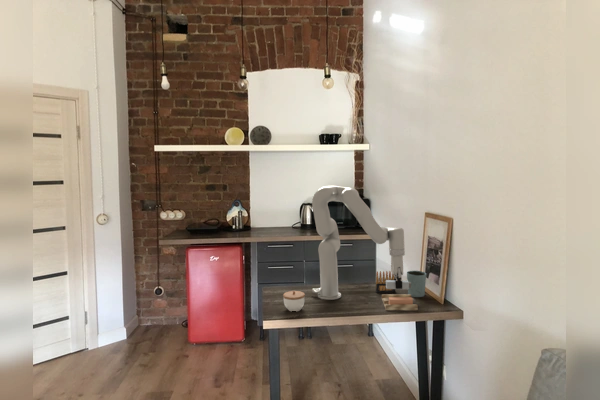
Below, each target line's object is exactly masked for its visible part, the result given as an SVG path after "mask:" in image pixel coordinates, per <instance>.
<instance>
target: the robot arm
mask: <svg viewBox="0 0 600 400" xmlns="http://www.w3.org/2000/svg"><path fill="white" fill-rule="evenodd" d="M329 202H338V203H339V202H340V203H343V204H344V205H345V206H346V208H347V209H348V210H349V212H351V214H352V215H353V216H354V217H355V219H356V220H357V222H358V223H359V225H360V226H361V227H362V229H363V230H364V232H365V233H366V234H367V235H368V237H369V238H370V239H371V240H372V241H373V242H374V243H375V244H377V245H383V244H385V243H386V242H387V241H388V246H389V247H388V251H389V256H390V272H391V275H392V274H393V275H394V280H396V281H395V283H396V289H395V290H403V289H402V280H403V279H402V278H403V275H404V259H403V256H405V255H406V253H405V252H406V250H405V230H404V229H403V228H402V227H398V226H397V227H386V226H381V225H380V224H379V223H378V222H377V221H376V219H375V218H374V216H373V213H372V211H371V208H370V207H369V206H368V205H367V204H366V203H365V202H364V200H363V199H362V198H361V196H360V194H359V191H358V190H357V189H356V188H354V187H346V186H338V185H325V186H322V187H320V188H319V189H317V190H316V191H315V192H314V195H313V196H312V200H311V206H312V211H313V219H314V223H315V227H316V232H317V234H318V235H319V236H321V237H322V240H321V242H320V243H319V245H318V249H317V250H318V251H317V252H318V259H319V276H320V277H319V278H320V279H319V280H320V282H319V283H320V287H318V288H312V289H311V290H312V293H314V294H317V298H319V299H321V300H327V301H331V300H332V301H333V300H338V299H340V298H341V297H342V293H341V292H339V279H338V278H339V273H338V272H339V270H338V256H337V252H338V251H339V250H340V248H341V238H340V233H339V228H338V225H337V224H338V223H337V222H336V220H335V219H333V218H332V217H331V214H330V209H329V206H328V204H329Z"/></svg>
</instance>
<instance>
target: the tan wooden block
mask: <svg viewBox="0 0 600 400" xmlns="http://www.w3.org/2000/svg"><path fill="white" fill-rule="evenodd" d="M412 298H413V297H412V296H411V297H389V304H416V300H415V298H413V299H412Z"/></svg>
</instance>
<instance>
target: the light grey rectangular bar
mask: <svg viewBox="0 0 600 400" xmlns="http://www.w3.org/2000/svg"><path fill="white" fill-rule="evenodd" d="M395 281H396V280H389V279H388V280H386V288H387V289H395V290H397V289H396V283H395ZM386 288H385V289H386ZM409 288H411V282H408V280H407V279H405V280H403V279H402V289H401V290H408V289H409Z"/></svg>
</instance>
